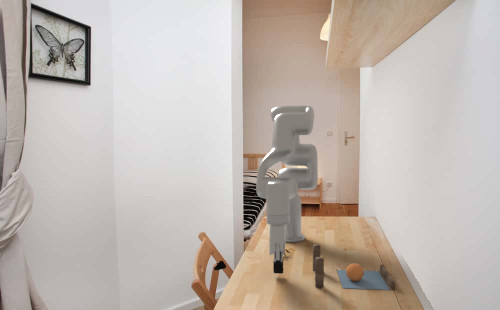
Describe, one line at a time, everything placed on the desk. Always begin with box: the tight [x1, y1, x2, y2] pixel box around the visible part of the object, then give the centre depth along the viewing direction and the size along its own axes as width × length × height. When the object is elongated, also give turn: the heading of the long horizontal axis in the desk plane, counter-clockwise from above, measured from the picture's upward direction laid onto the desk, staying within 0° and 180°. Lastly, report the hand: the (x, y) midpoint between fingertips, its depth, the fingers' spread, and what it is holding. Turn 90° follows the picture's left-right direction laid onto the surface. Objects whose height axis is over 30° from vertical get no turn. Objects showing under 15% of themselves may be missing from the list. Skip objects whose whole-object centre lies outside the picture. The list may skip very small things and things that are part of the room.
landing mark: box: [336, 269, 391, 291], centre depth 118 cm, size 14×14×1 cm
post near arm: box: [312, 243, 321, 273], centre depth 126 cm, size 3×3×9 cm
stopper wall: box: [379, 264, 396, 291], centre depth 117 cm, size 14×1×2 cm, turn 174°
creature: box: [283, 248, 292, 260], centre depth 140 cm, size 8×5×8 cm
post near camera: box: [314, 256, 325, 289], centre depth 113 cm, size 3×3×9 cm
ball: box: [345, 263, 365, 281], centre depth 117 cm, size 6×6×6 cm
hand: (278, 272), depth 121 cm, fingers closed
